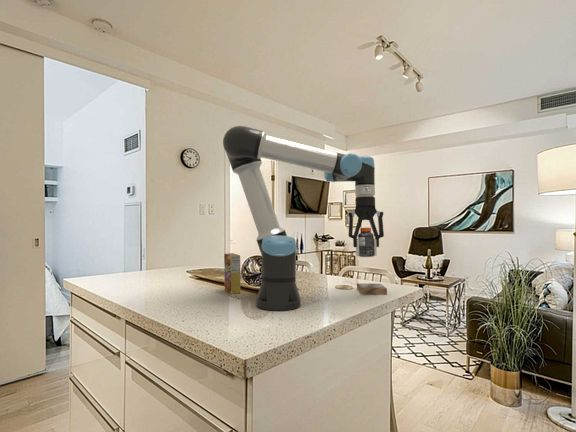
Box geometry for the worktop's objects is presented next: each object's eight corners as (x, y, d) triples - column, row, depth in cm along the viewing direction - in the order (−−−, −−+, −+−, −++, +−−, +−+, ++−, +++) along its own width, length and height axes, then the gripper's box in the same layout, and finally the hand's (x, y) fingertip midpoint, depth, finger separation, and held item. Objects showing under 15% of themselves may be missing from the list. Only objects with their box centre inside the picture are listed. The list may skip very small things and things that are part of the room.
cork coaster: (336, 289, 140) (336, 288, 140) (333, 285, 148) (333, 284, 148) (354, 289, 140) (354, 288, 140) (351, 286, 148) (351, 284, 148)
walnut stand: (361, 294, 131) (361, 287, 131) (356, 289, 141) (356, 283, 141) (386, 294, 131) (386, 287, 131) (380, 289, 141) (380, 283, 141)
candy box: (223, 290, 137) (223, 253, 137) (233, 289, 139) (233, 252, 139) (230, 294, 129) (230, 255, 129) (240, 293, 131) (241, 254, 131)
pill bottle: (373, 255, 131) (372, 227, 132) (375, 257, 126) (374, 227, 126) (357, 255, 132) (357, 227, 132) (359, 257, 126) (358, 227, 127)
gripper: (341, 196, 126) (342, 256, 126) (392, 195, 125) (393, 256, 125) (339, 197, 134) (340, 254, 133) (387, 196, 133) (388, 254, 132)
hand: (366, 255), depth 129 cm, fingers closed on pill bottle, 6 cm apart
